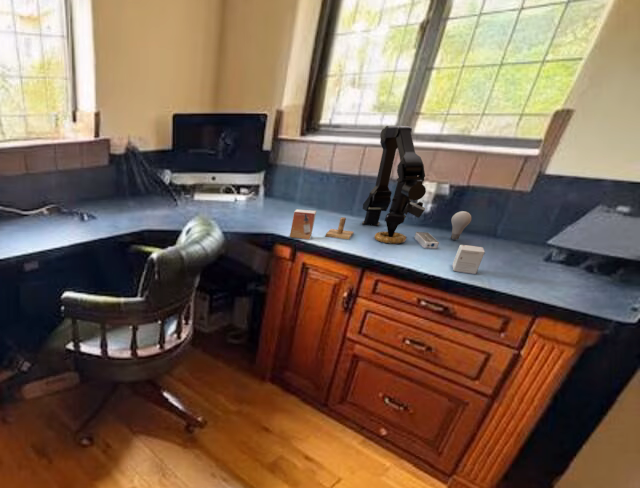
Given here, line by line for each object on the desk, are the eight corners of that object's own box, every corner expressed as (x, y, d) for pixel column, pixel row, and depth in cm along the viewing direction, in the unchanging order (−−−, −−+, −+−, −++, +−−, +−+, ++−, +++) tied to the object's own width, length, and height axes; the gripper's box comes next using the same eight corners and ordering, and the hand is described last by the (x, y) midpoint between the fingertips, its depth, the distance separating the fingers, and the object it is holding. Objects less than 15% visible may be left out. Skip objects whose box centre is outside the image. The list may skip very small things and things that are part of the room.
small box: (289, 237, 173) (293, 211, 168) (291, 234, 177) (295, 208, 172) (309, 239, 169) (315, 213, 164) (311, 236, 174) (316, 210, 169)
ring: (376, 235, 173) (377, 229, 172) (406, 239, 167) (408, 233, 166) (372, 241, 165) (373, 235, 164) (403, 246, 160) (405, 239, 158)
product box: (452, 271, 135) (460, 249, 132) (451, 265, 140) (459, 244, 136) (476, 274, 132) (485, 252, 129) (474, 268, 137) (483, 246, 133)
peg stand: (330, 231, 179) (333, 214, 176) (353, 234, 175) (357, 216, 171) (325, 236, 173) (329, 219, 169) (349, 239, 168) (353, 221, 165)
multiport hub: (426, 238, 168) (428, 232, 166) (437, 248, 156) (439, 242, 154) (413, 237, 169) (415, 231, 168) (423, 248, 157) (425, 241, 156)
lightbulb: (457, 243, 161) (468, 214, 156) (441, 239, 166) (451, 211, 161) (466, 240, 164) (477, 212, 158) (450, 237, 168) (460, 209, 163)
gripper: (425, 201, 150) (412, 244, 158) (428, 193, 164) (416, 232, 171) (390, 198, 156) (379, 240, 164) (396, 190, 169) (385, 229, 177)
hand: (391, 235), depth 169 cm, fingers open, 5 cm apart
